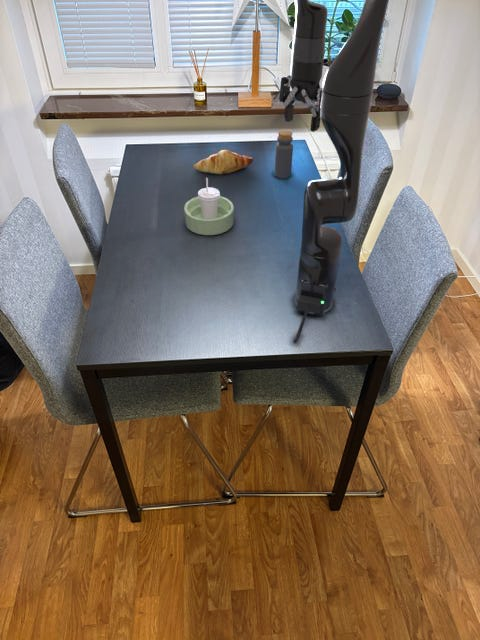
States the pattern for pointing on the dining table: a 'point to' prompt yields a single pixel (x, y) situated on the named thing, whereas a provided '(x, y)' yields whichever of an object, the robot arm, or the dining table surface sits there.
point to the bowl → (209, 226)
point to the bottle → (283, 154)
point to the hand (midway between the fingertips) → (301, 125)
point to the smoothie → (209, 201)
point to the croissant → (223, 162)
